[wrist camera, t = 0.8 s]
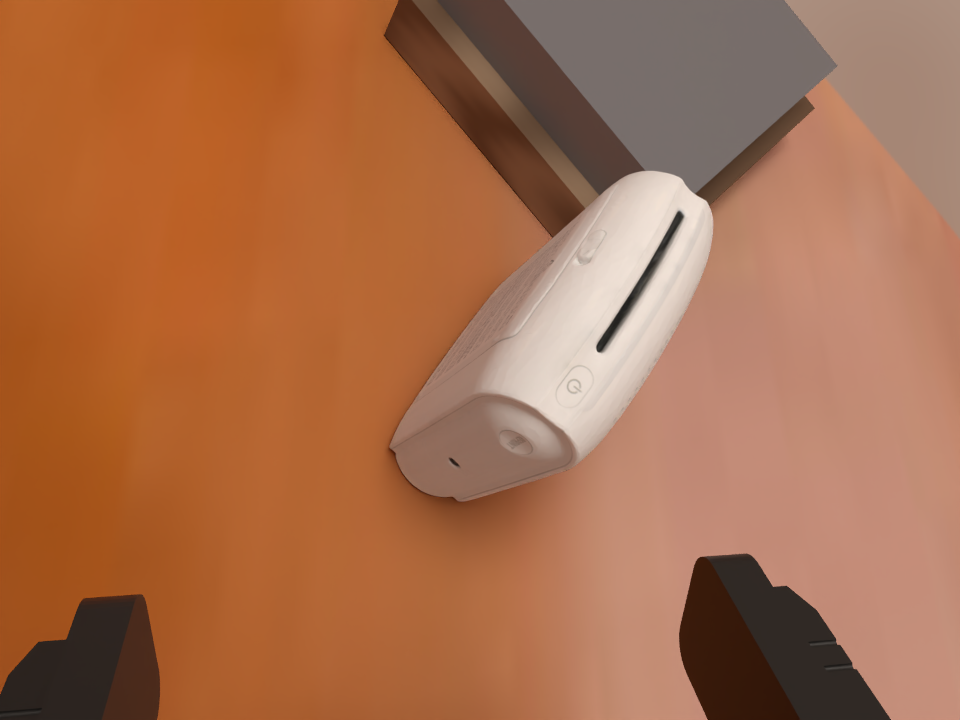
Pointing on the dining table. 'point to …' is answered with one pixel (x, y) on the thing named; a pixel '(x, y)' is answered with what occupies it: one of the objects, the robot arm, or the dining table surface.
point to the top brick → (648, 76)
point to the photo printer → (560, 344)
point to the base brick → (523, 117)
